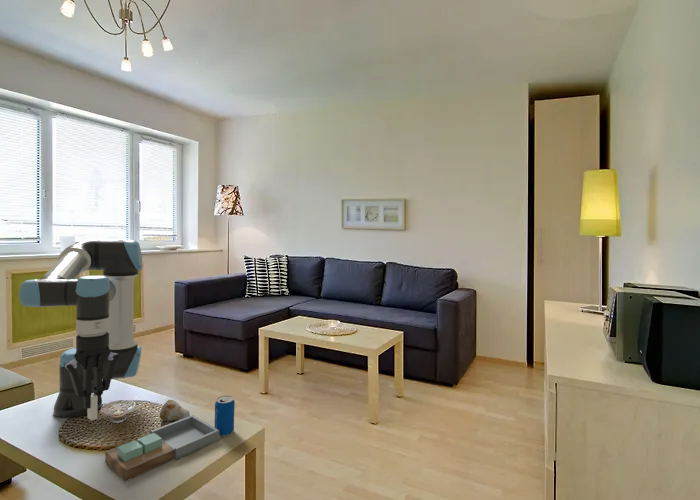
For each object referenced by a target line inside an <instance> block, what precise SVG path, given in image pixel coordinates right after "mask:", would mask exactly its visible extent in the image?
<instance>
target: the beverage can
mask: <svg viewBox="0 0 700 500" xmlns="http://www.w3.org/2000/svg"><path fill="white" fill-rule="evenodd" d="M235 405H236V404H235V399H234V397H233V396H231V395H222V396H218V397H217V398H216V401H215V403H214V426H213V427H215V428H216V429H218V430H219V437H228V436H230V435H231V434H232V433H233V432H234V431H235Z"/></svg>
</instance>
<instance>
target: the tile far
mask: <svg viewBox="0 0 700 500" xmlns="http://www.w3.org/2000/svg"><path fill="white" fill-rule="evenodd" d="M137 439H138V443H139V444H141V445H142V446H143V452H145V453H147V452H149V451H152V450H154V449H157V448H159V447H161V446H162V438H161V437H159V436H158V435H156V434H155V433H152V434H151V433H150V434H148V435H144V436H142V437H140V438H137Z"/></svg>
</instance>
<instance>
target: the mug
mask: <svg viewBox="0 0 700 500" xmlns="http://www.w3.org/2000/svg"><path fill="white" fill-rule="evenodd" d="M190 414H191V412H190V411H189V409H186V408H184V407H183V406H182V405H180V404H179V403H178V402H177V401H176V400H173V399H168V400H166V402H164V404H163V406H162V408H161V410H160V413H159V419H161V420H162V421H165V420H166V421H168V422H169V420H170V421H179V420H181V419H184V418H186V417H189V416H191V415H190Z"/></svg>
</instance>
